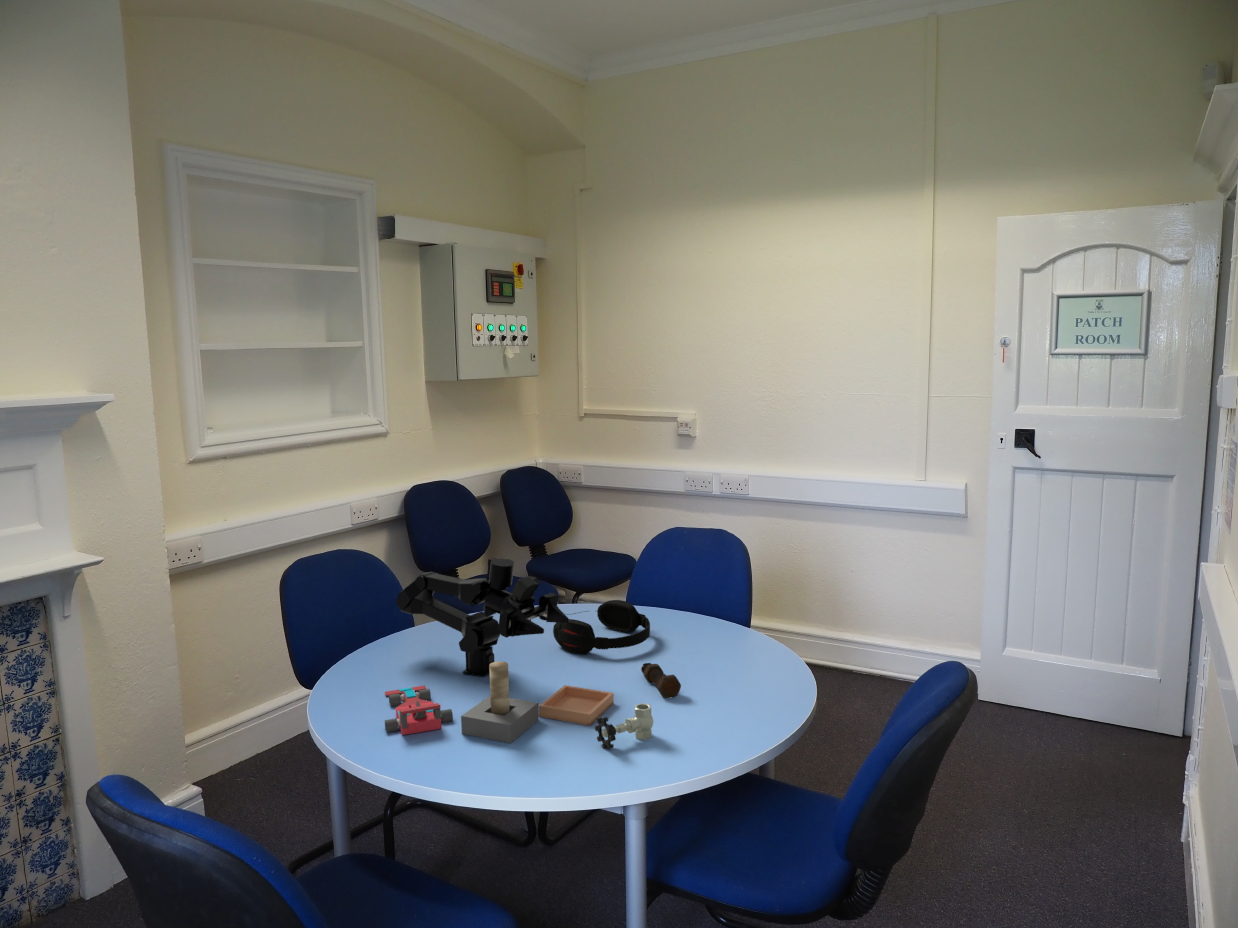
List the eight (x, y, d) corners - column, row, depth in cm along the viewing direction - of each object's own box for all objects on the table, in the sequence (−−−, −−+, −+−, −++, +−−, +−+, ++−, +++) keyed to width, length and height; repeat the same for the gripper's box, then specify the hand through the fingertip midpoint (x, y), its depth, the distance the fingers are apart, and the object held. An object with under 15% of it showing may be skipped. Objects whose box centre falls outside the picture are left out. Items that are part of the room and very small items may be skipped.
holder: (461, 733, 179) (461, 715, 178) (491, 711, 189) (491, 694, 189) (510, 743, 174) (510, 724, 173) (538, 719, 185) (538, 702, 184)
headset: (569, 623, 252) (568, 595, 251) (656, 626, 248) (655, 597, 247) (546, 656, 225) (545, 624, 223) (644, 660, 220) (643, 628, 219)
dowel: (487, 728, 181) (485, 666, 179) (497, 721, 184) (495, 660, 182) (504, 732, 179) (501, 669, 177) (513, 724, 183) (511, 662, 181)
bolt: (649, 682, 210) (673, 702, 196) (633, 674, 209) (656, 695, 195) (660, 660, 211) (684, 680, 197) (643, 653, 209) (667, 672, 195)
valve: (642, 728, 180) (594, 742, 174) (642, 698, 179) (594, 712, 173) (660, 739, 175) (611, 755, 168) (660, 709, 174) (611, 723, 168)
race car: (434, 664, 204) (454, 702, 181) (435, 687, 205) (455, 729, 182) (374, 673, 199) (387, 714, 176) (375, 697, 200) (388, 741, 177)
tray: (539, 716, 187) (538, 705, 186) (564, 695, 198) (564, 684, 198) (590, 725, 182) (590, 714, 181) (613, 703, 193) (613, 692, 193)
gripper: (483, 582, 196) (533, 604, 188) (535, 565, 212) (584, 584, 203) (479, 626, 199) (528, 649, 191) (530, 606, 214) (578, 627, 206)
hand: (556, 625), depth 197 cm, fingers open, 9 cm apart
